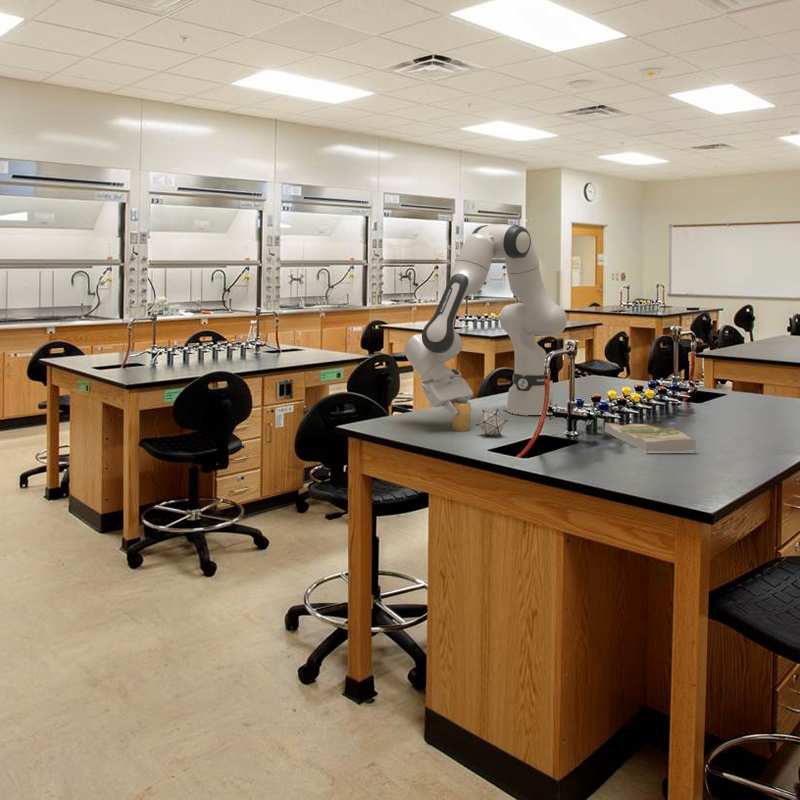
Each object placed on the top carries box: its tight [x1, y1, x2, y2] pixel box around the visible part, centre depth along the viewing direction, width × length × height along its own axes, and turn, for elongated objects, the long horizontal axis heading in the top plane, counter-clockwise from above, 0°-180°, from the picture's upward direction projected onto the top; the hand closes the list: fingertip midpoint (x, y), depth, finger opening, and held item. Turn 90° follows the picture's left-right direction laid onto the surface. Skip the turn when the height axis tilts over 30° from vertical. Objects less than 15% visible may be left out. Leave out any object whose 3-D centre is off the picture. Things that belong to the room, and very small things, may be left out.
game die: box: [475, 408, 509, 438], centre depth 238 cm, size 9×8×10 cm
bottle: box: [451, 397, 472, 432], centre depth 247 cm, size 6×6×10 cm
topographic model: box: [603, 422, 697, 452], centre depth 234 cm, size 30×14×5 cm, turn 7°
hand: (463, 412), depth 246 cm, fingers closed on bottle, 6 cm apart
